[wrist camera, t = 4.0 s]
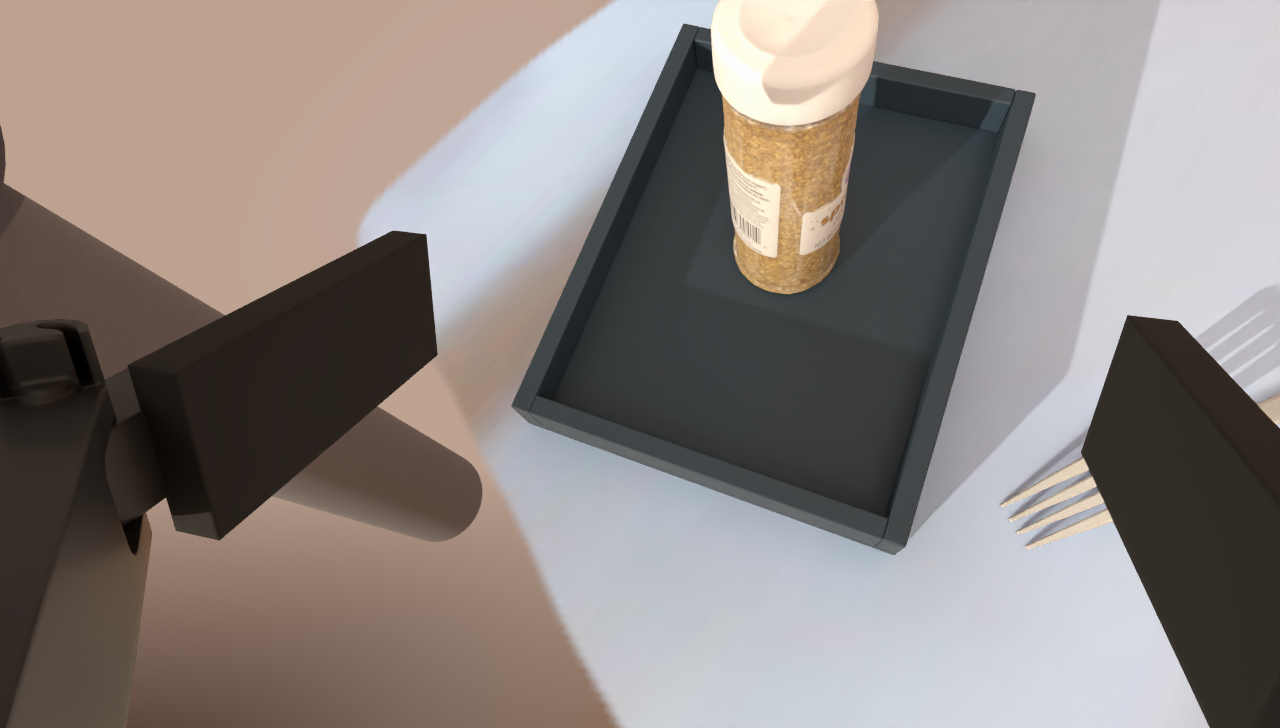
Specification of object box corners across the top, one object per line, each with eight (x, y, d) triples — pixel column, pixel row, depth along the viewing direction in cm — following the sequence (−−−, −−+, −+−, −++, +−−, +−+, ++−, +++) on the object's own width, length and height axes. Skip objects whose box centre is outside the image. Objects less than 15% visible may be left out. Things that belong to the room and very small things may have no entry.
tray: (528, 423, 33) (510, 406, 31) (688, 60, 38) (683, 22, 36) (894, 555, 29) (905, 548, 27) (1018, 130, 34) (1036, 92, 32)
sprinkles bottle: (850, 284, 32) (902, 59, 20) (743, 307, 33) (726, 100, 20) (824, 192, 34) (856, -70, 21) (722, 215, 34) (695, -29, 22)
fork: (1500, 353, 30) (1576, 323, 28) (1034, 562, 28) (1069, 551, 26) (1445, 294, 31) (1514, 259, 29) (992, 492, 29) (1021, 474, 27)
